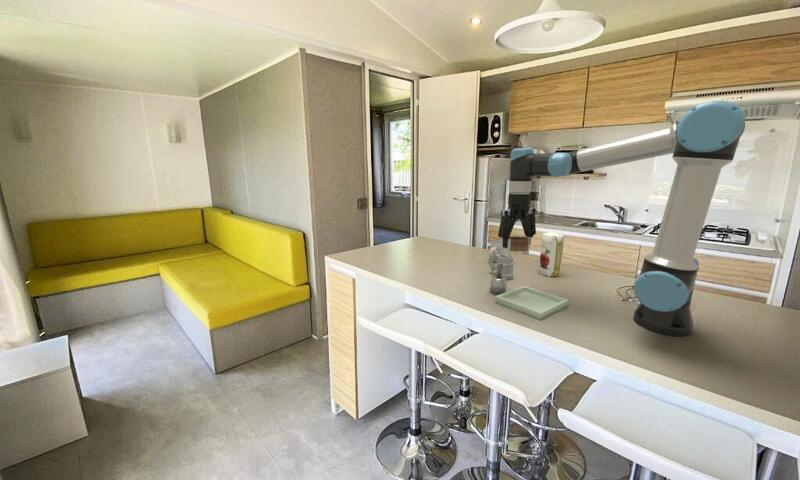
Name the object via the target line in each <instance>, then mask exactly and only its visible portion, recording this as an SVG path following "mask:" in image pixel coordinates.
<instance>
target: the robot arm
mask: <svg viewBox="0 0 800 480" xmlns="http://www.w3.org/2000/svg"><path fill="white" fill-rule="evenodd" d="M745 129H746V115H745V113H744V111H743V109H742V108H741V107H740V106H739V105H738V104H735V103H734V102H732V101H727V100H710V101H709V100H708V101H706V102H702V103H700V104H697V105H696V106H693V107H692V108H691V109H689V110H688V111H687V112H685V114H684V115H683V116H682V117H681V119H680V120H678V121H675V122H674V123H673V124H672V125H671V126H669V127H666V128H662V129H658V130H654V131H650V132H646V133H641V134H638V135H634V136H630V137H625V138H622V139H619V140H614V141H609V142H606V143H603V144H598V145H594V146H589V147H586V148H582V149H579V150H574V151H570V152H546V153H535V150H534V148H533V147H524V148H523V147H521V148H519V147H517V148H514V149H511V152H510V161H509V164H510V165H509V180H508V181H509V182H508V193H509V194H508V197H507V203H508V208H507V209H501V213H500V214H501V217H500V224H499V227H498V228H499V229H498V233H497V237H498V238H501V239H502V241H503V243H502V244H503V245H502V247H503V248H504V250H503V256H506V257H510V255H511V251H510V244H511V239H509V237H510V236H511V235H512V232H513V229H514V228H515V227H514V226H515V224H516V223H517V222H518V220H520V223H521V226H522V230H523V233H524V235H523V236H522V237H526V238H528V239H529V244H528V250H527V251H523V252H521V253H522V254H524V255H530V245H531V240H532V238H533V237H534V236H535V235H536V234H537V227H536V216H535V215H536V211H537V210H536V208H533V207H530V206H529V205H530V204H531V198H532V197H531V196H532V195H531V192H532V182H533V177H554V178H559V177H566V176H571V175H574V174H578V173H582V172H583V173H584V172H588V171H591V170H593V171H594V170H598V169H603V168H607V167H612V166H616V165H621V164H626V163H631V162H637V161H641V160H647V159H652V158H655V157H656V158H657V157H661V156H665V155H666V156H667V155H672V160H673V161H674V162H675V163H676V165H677V166H676V169H675V172H674V175H673V176H674V177H673V180H672V184H671V186H670V187H671V188H670V192H669V194H668V198H667V201H666V205H665V208H664V211H663V216H662V220H661V222H660V227H659V229H658V230H659V231H658V234H657V237H656V241H655V243H654V248H653V251H652V252H649V253H648V254H645V256H644V257H643V258H644V260H643V262H642V266H641V269H640V273H639V276H638V277H636V279H635V280H634V284H633V285H634V286H633V291H634V292H633V293H634V294H635V297H636V299H637V300H638V301H639V303H638V305H637V307H636V308H635V309H634V312H633V317H632V319H633V321H634V322H635V324H637V325H639V326H640V327H642V328H644V329H646V330H648V331H652V332H655V333H658V334H662V335H666V336H667V335H668V336H676V337H686V336H690V335H692V333H693V331H694V324H695V323H694V319H693V315H692V311H691V302H692V298H693V294H694V289H695V284H696V280H697V275H698V271H699V269H700V268H699V265H700V261H699V260H698V258H695V257H694V256H695V253H696V249H697V247H698V244H699V240H700V237H701V234H702V231H703V228H704V224H705V221H706V219H707V215H708V213H709V208H710V206H711V203H712V199H713V197H714V193H715V190H716V187H717V184H718V181H719V177H720V174H721V171H722V169H723V168H724V167H725V166H727V165H728V164H731V163H732V162H733V160H734V157H735V155H736V152H737V148H738V145H739V143H740V139H741V137H742V135H743V134H744V131H745Z"/></svg>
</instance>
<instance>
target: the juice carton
mask: <svg viewBox="0 0 800 480" xmlns="http://www.w3.org/2000/svg"><path fill="white" fill-rule="evenodd" d="M541 236H542V237H541V246H540V257H539V266H538V273H539V274H541V275H543V276H546V277H548V278H552V277H553V278H554V277H560V276H561V272H562V271H561V270H562V263H563V262H562V261H563V255H564V254H563V253H564V245H565V237H566V236H565V234H560V233H557V232H554V231H551V232H549V231H548V232H542V235H541Z"/></svg>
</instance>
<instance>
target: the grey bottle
mask: <svg viewBox="0 0 800 480" xmlns="http://www.w3.org/2000/svg"><path fill="white" fill-rule="evenodd" d="M496 266H497V269H496V271H497V275H496V274H495V275H492V276H491V277H490V286H489V287H490V290H489V292H490V294H492V295H495V296H498V295H500V294H503V293H506V292H507V282H508V280H507V278H506V277H504V276H502V266H503V263H497V262H496Z"/></svg>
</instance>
